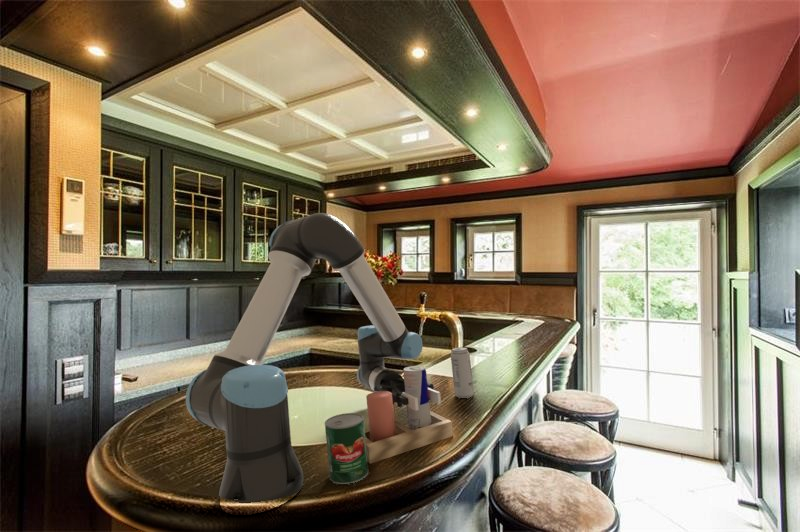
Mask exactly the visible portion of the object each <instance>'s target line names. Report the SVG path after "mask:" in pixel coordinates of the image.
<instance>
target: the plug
mask: <svg viewBox="0 0 800 532" xmlns="http://www.w3.org/2000/svg"><path fill="white" fill-rule="evenodd" d="M365 397H366V408H367V417H368V419H367V421H368V428H369V440H370V441H371V442H372V443H373V442H376V441H379V440H383V439H386V438H389V437H393V436H396V432H395V421H396V420H395V414H394V413H395V411H394V404H393V400H392V393H391V392H388V391H378V392H374V391H373V392H370V393H368V394H366V396H365Z"/></svg>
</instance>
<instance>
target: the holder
mask: <svg viewBox="0 0 800 532" xmlns="http://www.w3.org/2000/svg"><path fill="white" fill-rule="evenodd" d="M430 416H431V425H429V426H425V427H422V428H419V429H416V430H411V429H409V426H406V425H404V424H402V422H400V421H398V420H394V421H395V432H396V436H393V437H389V438H386V439H383V440H379V441H376V442H373V443H372V442H371V441H370V438H367V436H365V441H366V452H367V461H368V463H369V464H374V463H377V462H379V461H382V460H385V459H389V458H392V457H394V456H398V455H400V454H403V453H406V452H410V451H412V450H415V449H419V448H422V447H426V446H428V445H430V444H434V443H436V442H440V441H442V440H445V439H446V440H447V439H449V438H451V437H454V432H453V423H452V420H450V419H448V418H447V417H443V416H441V415H440V414H437V413H436V412H433V411H432V410H430Z"/></svg>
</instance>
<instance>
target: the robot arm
mask: <svg viewBox="0 0 800 532" xmlns="http://www.w3.org/2000/svg"><path fill="white" fill-rule="evenodd" d="M268 242H269V244H268V245H269V248H270V251H269V253H268V255H267V257H268V260H269V262H270V264H269V266H268V268H267V269H266V272H265V273H264V275H263V277H262V279H261V281H260V282H259V285H258V287H257V288H256V291H255V292H254V294H253V296H252V298H251V300H250V302H249V304H248V306H247V307H246V309H245V311H244V313H243V315H242V317H241V319H240V321H239V323H238V325H237V327H236V328H235V331H234V332H233V334H232V336H231V339H230V340H229V342H228V344H227V346H226V348H225V349H224V350H223V351H220V352H218V353H214V355H213V357H212V359H211V361H210V362H209V364H208V366H207V368H206V369H204V370H202V371H201V372H199V373H198V374H196V375H195V376H194V377H193V378H192V380H191V381H190V382H189V385H188V386H187V390H186V391H185V392H186V393H185V406H186V409H187V411H188V413H189V414H190V416H192V418H194V419H195V420H196V421H197V422H199V423H200V424H201V425H203V426H207V427H211V428H214V429H217V430H220V431H223V432H224V434H225V448H226V463H225V467H224V471H223V474H222V475H223V476H222V480H221V484H220V488H219V491H218V492H219V493H218V497H219V496H220V497H221V498H224V499H228V500H232V501H235V502H239V503H251V502H261V501H266V500H273V499H279V498H284V497H287V496H291V495H293V494H295V493H297V492H298V491H299V490H300V489H301V487H302V485H303V486H304V484H303V481H304V471H303V468H302V465H301V464H300V461H299V459H298V457H297V453H296V452H295V449H294V447H293V445H292V437H291V425H290V424H291V423H290V413H289V409H290V408H289V397H288V392H289V388H288V384H287V379H286V374H285V372H284V371H283V370H282V369H281V368H279V367H278V366H275V365H270V364H262V363H263V361H264V359H265V356H266V355H267V352H268V350H269V348H270V345H271V343H272V342H273V340H274V338H275V335H276V333H277V331H278V329H279V327H280V325H281V322H282V321H283V319H284V316H285V314H286V313H287V310H288V308H289V306H290V304H291V301H292V299H293V297H294V294H295V293H296V291H297V290H298V289H297V288H298V287H299V284H300V282H301V280H302V278H303V277H306V276H309V275H310V274H311V273H312V270H313V268H314V266H315V265H316V261H317V260H318V261H319V260H321V259H324V260H325V261H326V262H328V263H329V265H330V267H331V269H333V271H334V270H335V271H338V272H339V273H340V275H341V277H342V278H343V280H344V281H345V283H346V284H347V287H349V289H350V291H351V293H352V294H353V296H354V297H355V298H356V300H357V301H358V303H359V305H360V306H361V309H362V310H363V311H364V313H365V314H366V316H367V317H368V319H369V320H370V323H371V325H365V326H360V327H358V329H357V345H358V346H357V347H358V353H359V354H358V356H359V367H358V368H357V371H356V378H357V381H358V382H359V384H361V385H362V386H363V387H364V388H366V389H369V390H371V391H373V392H378V391H388V392H391V393H392V400H393V405H395V403H396V406H397V407H398V408H402V407H403V406H406V407H407V406H408V407H410V408H412V409H414V410H416V411H417V410H419V408H418V398H416V397H414V396H412V395H410V394H407V393H405V383H404V377H402V375H401V374H400V373H399V372H398V371H395V370H392V369H390V368H387V367H385V358H386V359H397V360H415V359H417V358H418V357H420V355H421V354H422V351H423V347H424V346H423V340H422V337H421V335H420V334H419V333H416V332H413V331H409V330H408V329H407V327H406V325H405V324H404V322H403V320H402V319H401V317H400V315H399V313H398V311H397V310H396V308H395V306H394V305H393V303H392V301H391V300H390V298H389V296H388V294H387V293H386V291H385V289H384V288H383V286H382V284H381V283H380V281H379V279H378V277H377V275H376V274H375V273H374V271H373V269H372V267H371V266H370V264H369V262H368V261H367V259H366V257H365V252H366V249H365V248H364V246H363V244H362V242H361V241H360V239H359V238H358V237H357V235H356V234H355V233H354V231H353V230H352V229H351V228H350V227H349V226H348V225H347V224H346V223H344V221H342V220H341V219H339V218H338V217H336V216H334V215H332V214H330V213H329V214H328V213H323V212H316V213H312V214H310V215H306V216H304V217H300V218H296V219H292V220H288V221H285V222H284V223H282V224H280V225H279V226H277V227H276V228H275V229H274V230H273V231H272V233H271V235H270V238H269V241H268ZM427 385H428V395H429V402H432V403H435V404H437V405H441V404H442V400H441V399H442V398H441V397H442V396H441V392H440V391H438V390H435V387H434V383H431V382H428V381H427ZM302 488H303V487H302ZM301 490H302V489H301ZM234 499H238V500H234Z"/></svg>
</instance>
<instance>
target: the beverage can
mask: <svg viewBox="0 0 800 532" xmlns="http://www.w3.org/2000/svg"><path fill="white" fill-rule="evenodd" d="M427 376H428V375H427V370H426V366H424V365H411V366H406V367H404V368H403V379H404V383H405V393H407V394H410V395H412V396H414V397H416V398H418V408H419V410H417V411H416V410H414V409H412V408H410V407H408V406H406V412H407V414H406V415H407V420H408V421H407V422H408V424H407V425H408V428H409V429H411V430H416V429H419V428H422V427H425V426H429V425H431V416H430V411H431V407H430V400H429V395H428V385H427V382H428V377H427Z"/></svg>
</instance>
